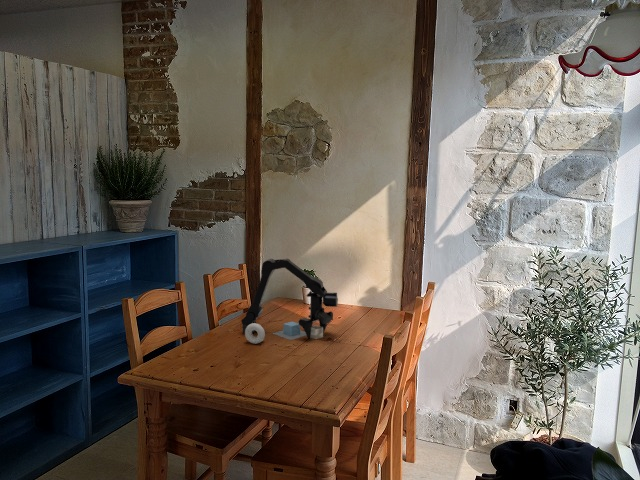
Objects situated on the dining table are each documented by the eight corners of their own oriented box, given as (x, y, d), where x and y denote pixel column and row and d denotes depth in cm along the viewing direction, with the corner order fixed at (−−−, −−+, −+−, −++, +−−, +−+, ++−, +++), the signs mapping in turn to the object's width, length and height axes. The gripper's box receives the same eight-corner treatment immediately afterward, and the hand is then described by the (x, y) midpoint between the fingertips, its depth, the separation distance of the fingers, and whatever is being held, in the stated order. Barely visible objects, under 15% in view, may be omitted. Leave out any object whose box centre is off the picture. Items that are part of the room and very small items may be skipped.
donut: (243, 343, 249) (243, 323, 248) (246, 341, 252) (246, 321, 251) (263, 345, 246) (263, 325, 245) (266, 343, 249) (266, 323, 248)
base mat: (290, 342, 252) (290, 340, 252) (271, 335, 262) (271, 333, 262) (311, 335, 262) (311, 333, 262) (292, 329, 272) (292, 327, 272)
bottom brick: (291, 336, 258) (291, 326, 257) (283, 333, 262) (283, 323, 261) (300, 333, 262) (300, 324, 261) (292, 331, 266) (292, 321, 265)
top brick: (315, 341, 254) (316, 329, 253) (308, 339, 257) (308, 327, 256) (322, 339, 257) (323, 327, 257) (315, 336, 261) (315, 325, 260)
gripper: (314, 312, 243) (314, 344, 245) (341, 305, 256) (340, 336, 258) (298, 307, 251) (297, 339, 253) (324, 301, 264) (324, 331, 266)
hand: (315, 336), depth 257 cm, fingers open, 9 cm apart
